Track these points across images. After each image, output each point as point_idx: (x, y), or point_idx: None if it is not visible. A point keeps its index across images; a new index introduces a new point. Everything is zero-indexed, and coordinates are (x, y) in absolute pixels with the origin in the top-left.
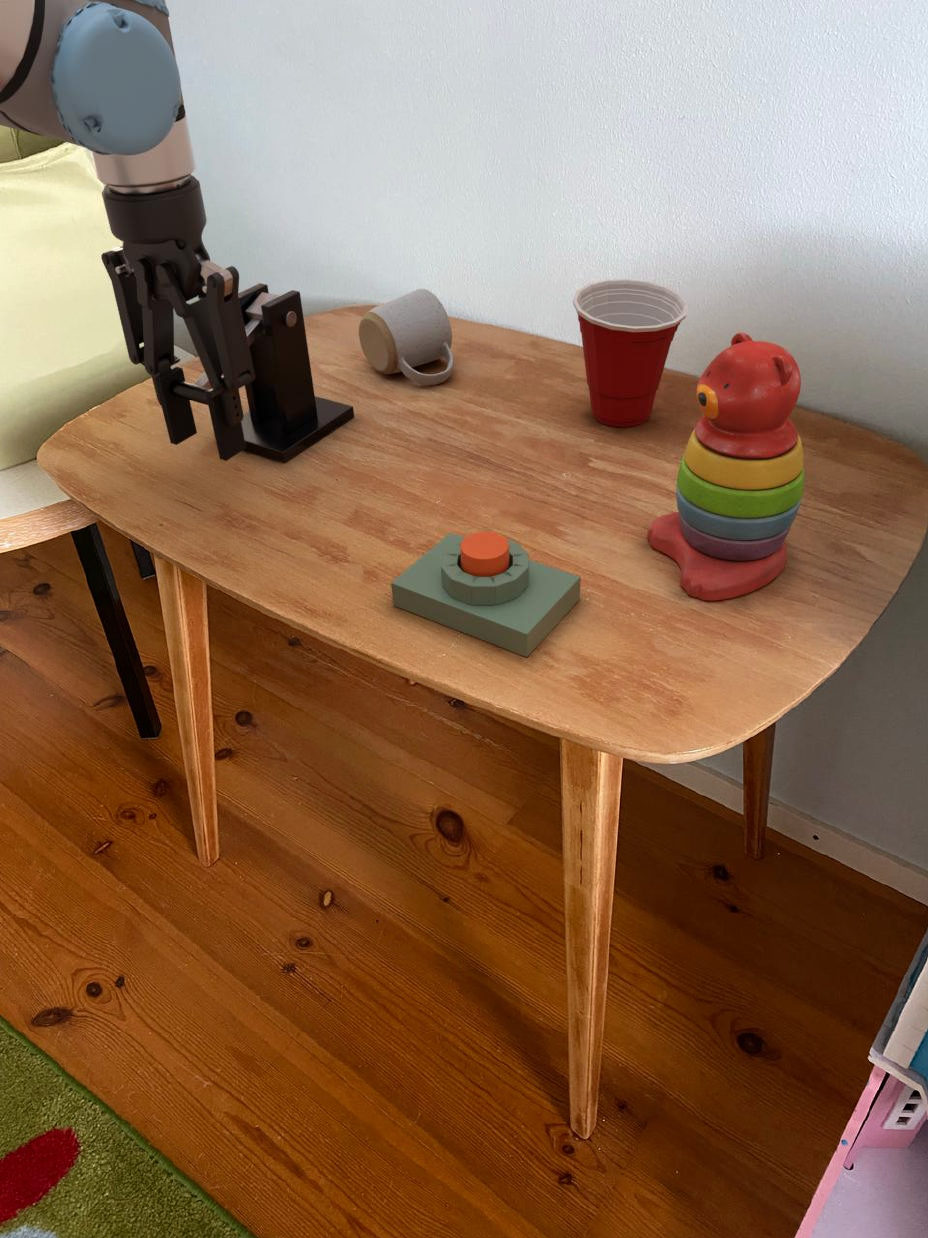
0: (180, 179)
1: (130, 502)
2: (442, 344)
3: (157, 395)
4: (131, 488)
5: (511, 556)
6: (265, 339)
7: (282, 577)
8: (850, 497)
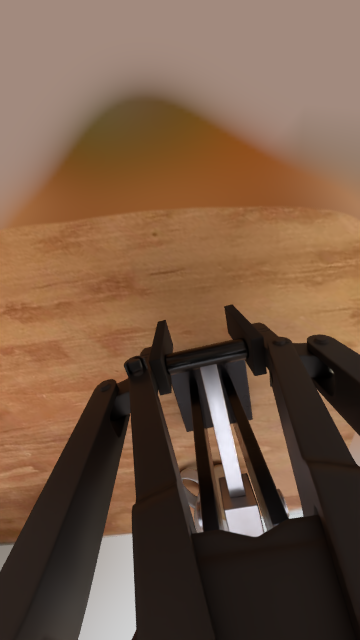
0: None
1: (213, 235)
2: (195, 506)
3: (265, 327)
4: (234, 250)
5: None
6: (247, 463)
7: (8, 264)
8: None
